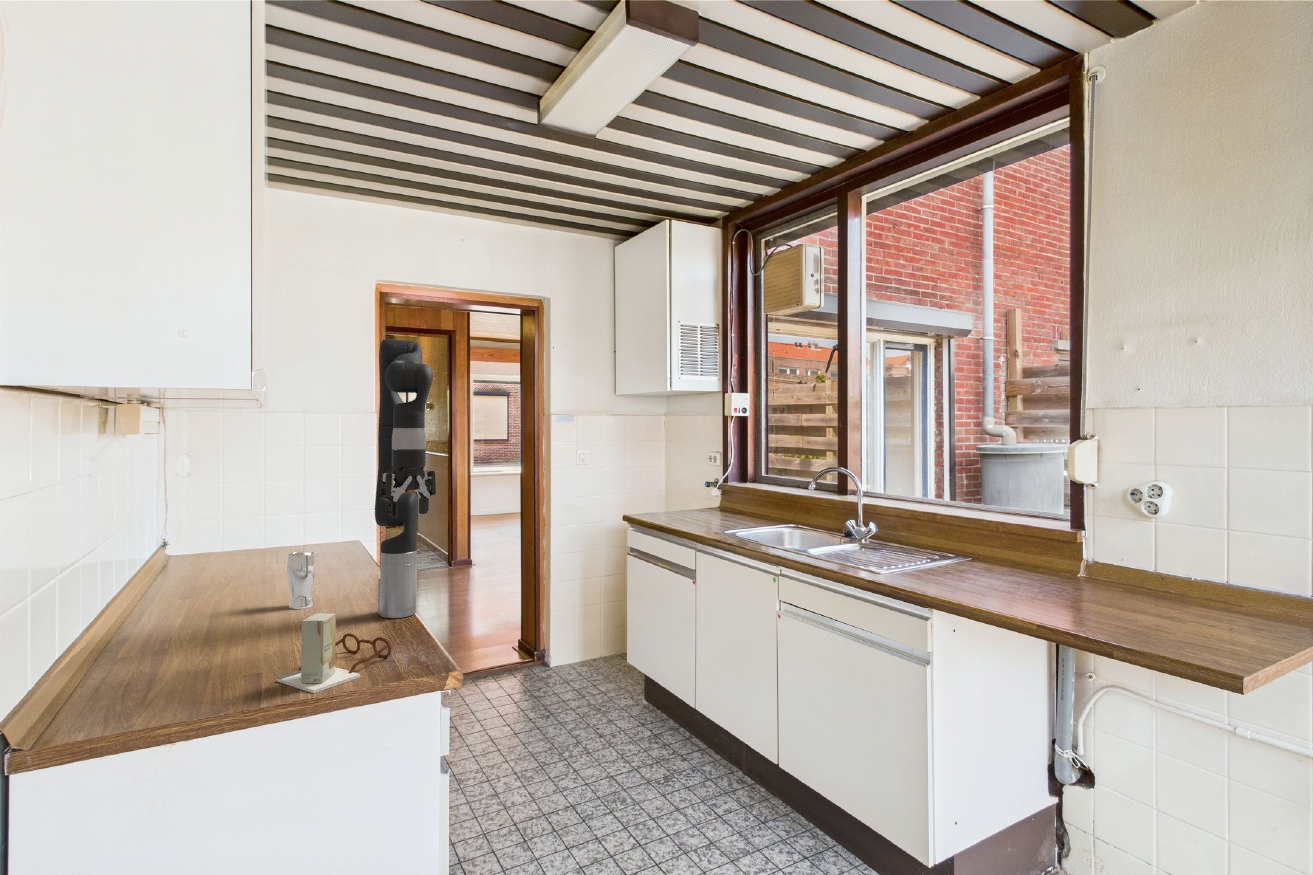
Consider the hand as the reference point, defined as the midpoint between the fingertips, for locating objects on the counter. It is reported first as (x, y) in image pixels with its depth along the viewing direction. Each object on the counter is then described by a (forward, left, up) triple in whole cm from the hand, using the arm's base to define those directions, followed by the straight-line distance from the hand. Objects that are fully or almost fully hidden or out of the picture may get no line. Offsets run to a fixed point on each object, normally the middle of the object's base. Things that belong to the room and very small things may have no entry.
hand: (408, 515), depth 160 cm
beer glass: (-52, +6, -30) cm, 60 cm away
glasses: (+2, -17, -31) cm, 35 cm away
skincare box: (+6, -27, -30) cm, 40 cm away
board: (+5, -26, -30) cm, 40 cm away
